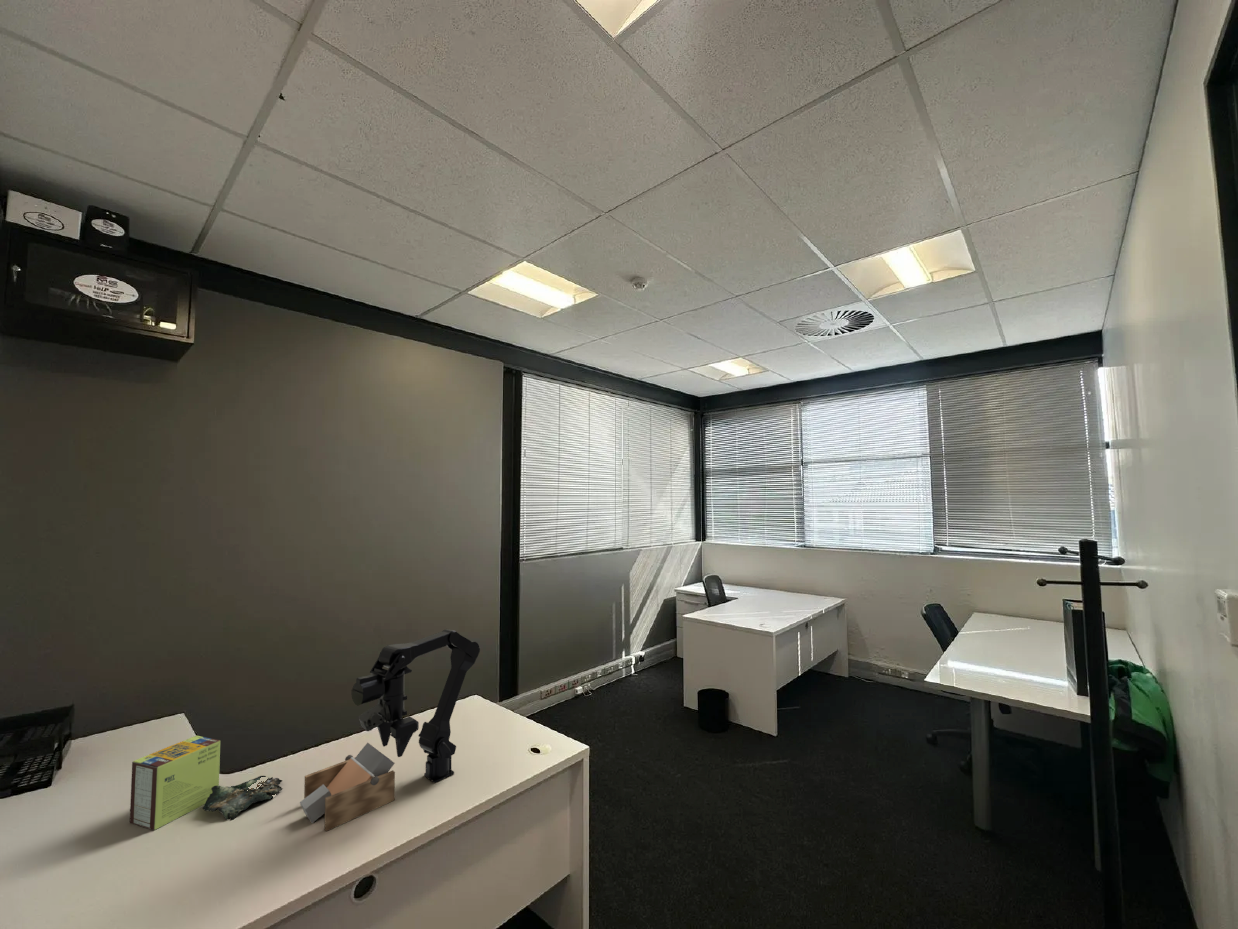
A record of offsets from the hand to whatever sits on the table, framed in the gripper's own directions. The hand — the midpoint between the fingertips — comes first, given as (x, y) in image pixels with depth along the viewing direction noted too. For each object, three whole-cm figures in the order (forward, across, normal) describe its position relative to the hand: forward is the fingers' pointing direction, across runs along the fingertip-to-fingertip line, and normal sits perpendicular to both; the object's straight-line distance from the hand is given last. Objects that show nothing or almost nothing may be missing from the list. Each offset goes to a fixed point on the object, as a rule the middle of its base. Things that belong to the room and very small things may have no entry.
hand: (392, 751), depth 139 cm
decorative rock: (+14, -32, -26) cm, 43 cm away
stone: (+9, -8, -13) cm, 18 cm away
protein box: (+13, -41, -40) cm, 59 cm away
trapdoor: (+10, -8, -4) cm, 13 cm away
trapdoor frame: (+13, -8, -8) cm, 17 cm away
